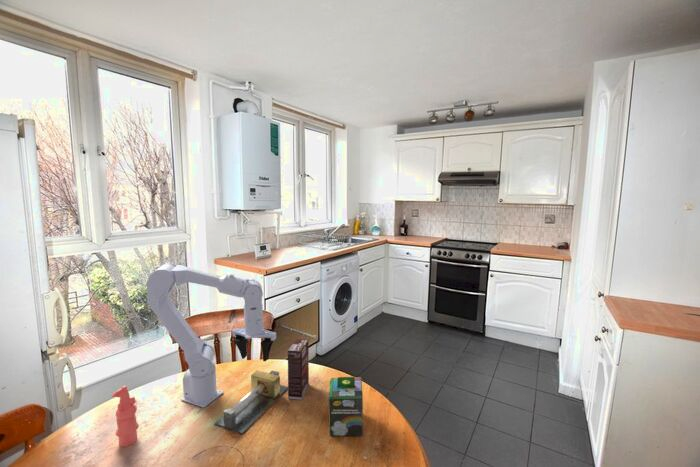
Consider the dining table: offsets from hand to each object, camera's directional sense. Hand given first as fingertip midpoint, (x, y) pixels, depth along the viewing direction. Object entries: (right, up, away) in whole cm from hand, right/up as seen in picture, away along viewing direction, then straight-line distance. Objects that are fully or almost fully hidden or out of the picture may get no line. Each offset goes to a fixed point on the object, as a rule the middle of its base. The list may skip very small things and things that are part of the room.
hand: (255, 358), depth 103 cm
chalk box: (+30, -13, -15) cm, 36 cm away
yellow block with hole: (+4, -11, -2) cm, 12 cm away
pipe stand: (+2, -11, -7) cm, 13 cm away
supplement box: (+14, -11, 0) cm, 18 cm away
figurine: (-26, -13, -21) cm, 36 cm away
